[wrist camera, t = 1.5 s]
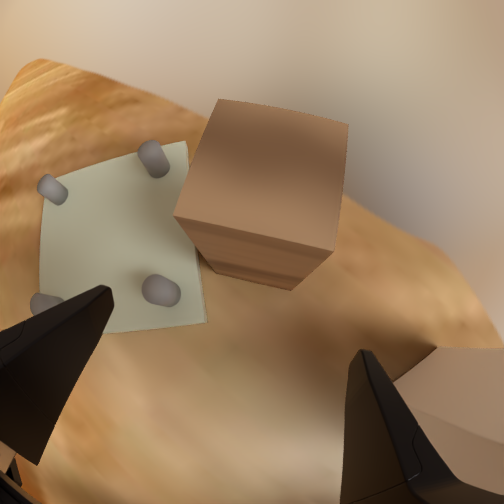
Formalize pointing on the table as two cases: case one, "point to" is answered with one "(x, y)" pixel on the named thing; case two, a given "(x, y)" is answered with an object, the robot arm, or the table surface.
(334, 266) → the table surface
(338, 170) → the walnut block
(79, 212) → the peg stand
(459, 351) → the milk carton
